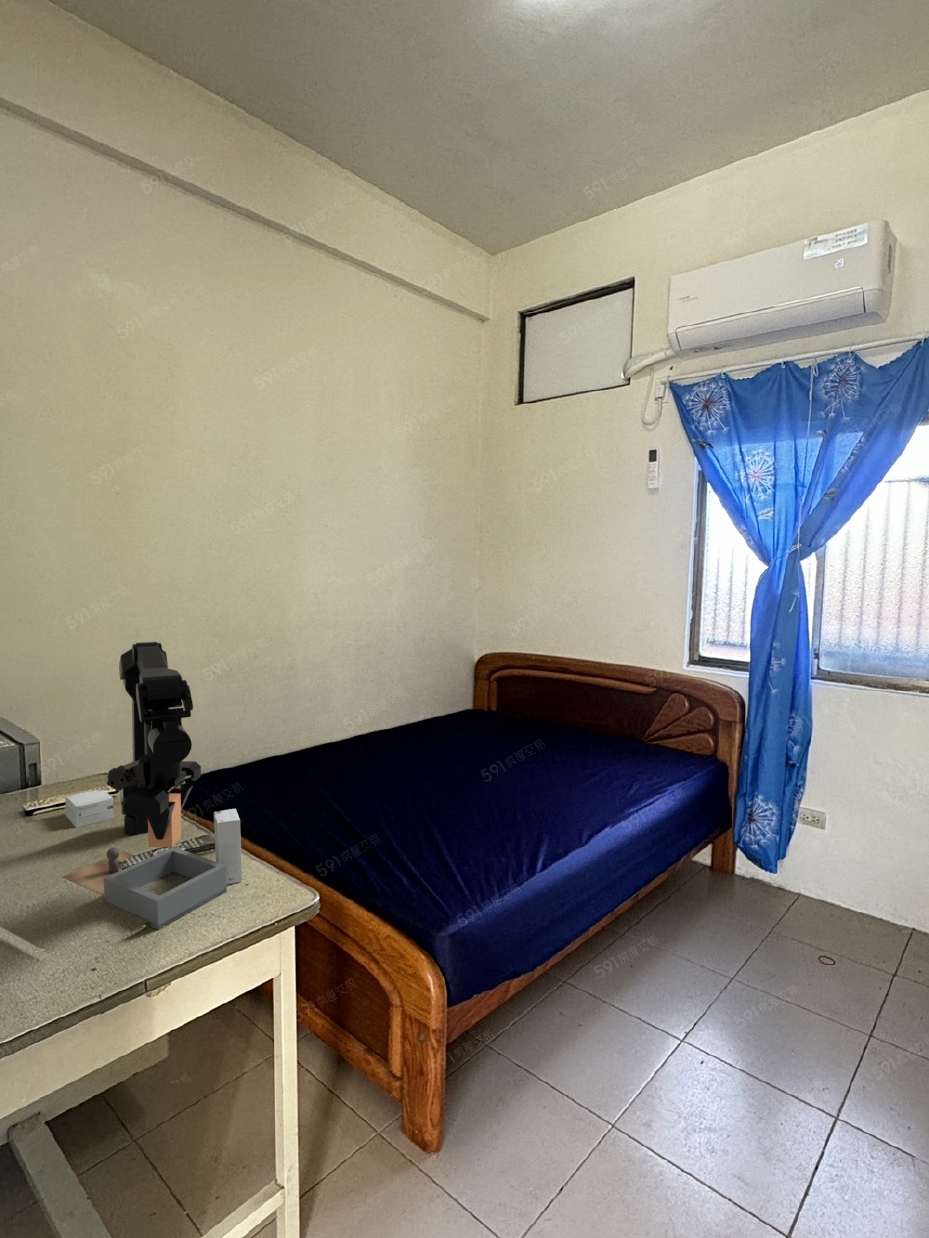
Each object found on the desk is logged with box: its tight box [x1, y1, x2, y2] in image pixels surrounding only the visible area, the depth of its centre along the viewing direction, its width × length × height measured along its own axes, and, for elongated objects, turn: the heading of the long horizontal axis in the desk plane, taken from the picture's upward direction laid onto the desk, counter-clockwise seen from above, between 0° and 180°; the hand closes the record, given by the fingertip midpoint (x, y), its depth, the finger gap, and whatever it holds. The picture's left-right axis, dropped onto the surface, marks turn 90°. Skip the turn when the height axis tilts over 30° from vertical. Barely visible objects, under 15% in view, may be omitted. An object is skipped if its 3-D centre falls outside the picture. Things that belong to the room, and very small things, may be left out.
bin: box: [103, 846, 228, 931], centre depth 117 cm, size 14×14×5 cm
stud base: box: [62, 846, 136, 896], centre depth 124 cm, size 12×12×6 cm
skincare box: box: [213, 808, 243, 886], centre depth 124 cm, size 6×4×12 cm
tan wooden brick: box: [147, 794, 183, 848], centre depth 115 cm, size 4×4×8 cm
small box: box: [64, 788, 115, 828], centre depth 149 cm, size 8×8×5 cm
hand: (165, 833), depth 116 cm, fingers closed on tan wooden brick, 4 cm apart
